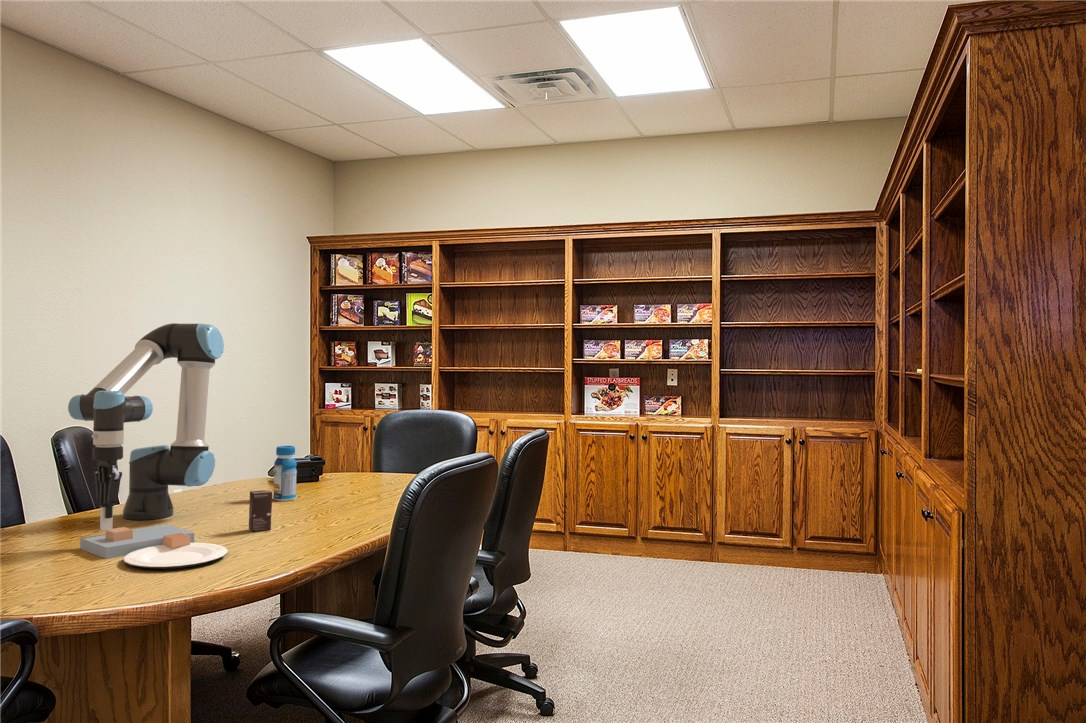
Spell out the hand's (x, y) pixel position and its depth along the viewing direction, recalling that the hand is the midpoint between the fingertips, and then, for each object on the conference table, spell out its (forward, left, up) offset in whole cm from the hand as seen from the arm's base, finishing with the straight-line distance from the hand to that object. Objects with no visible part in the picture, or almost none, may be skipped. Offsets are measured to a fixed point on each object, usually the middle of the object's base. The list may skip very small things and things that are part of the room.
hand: (106, 529), depth 218 cm
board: (+7, +6, -5) cm, 10 cm away
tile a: (+19, +10, -3) cm, 22 cm away
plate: (+29, +6, -5) cm, 30 cm away
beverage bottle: (-25, +75, -5) cm, 79 cm away
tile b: (+8, 0, -2) cm, 8 cm away
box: (+14, +40, -5) cm, 42 cm away
